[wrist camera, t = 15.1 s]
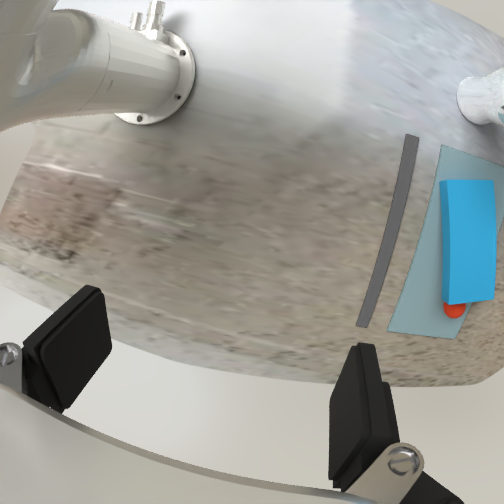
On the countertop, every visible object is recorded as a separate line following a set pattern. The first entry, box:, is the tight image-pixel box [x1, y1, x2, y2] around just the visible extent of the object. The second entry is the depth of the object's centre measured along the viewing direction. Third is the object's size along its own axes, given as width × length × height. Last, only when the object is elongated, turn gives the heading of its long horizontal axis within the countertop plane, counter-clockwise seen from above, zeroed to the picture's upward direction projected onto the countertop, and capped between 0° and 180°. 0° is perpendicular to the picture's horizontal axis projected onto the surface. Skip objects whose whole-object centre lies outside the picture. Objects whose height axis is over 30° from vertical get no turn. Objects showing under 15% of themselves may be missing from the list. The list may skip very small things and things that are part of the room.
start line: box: [356, 134, 419, 328], centre depth 37 cm, size 26×2×1 cm, turn 173°
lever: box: [439, 180, 496, 318], centre depth 34 cm, size 7×7×18 cm
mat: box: [387, 145, 504, 339], centre depth 36 cm, size 26×12×1 cm, turn 173°
